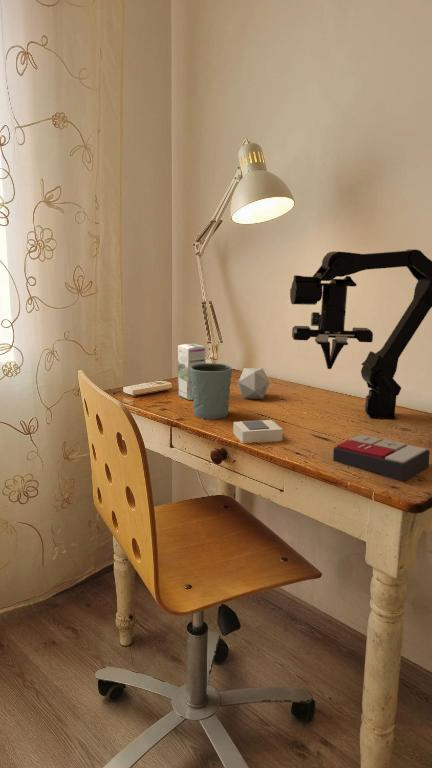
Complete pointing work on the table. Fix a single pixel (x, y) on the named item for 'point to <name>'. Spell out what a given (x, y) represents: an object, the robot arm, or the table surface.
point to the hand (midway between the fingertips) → (329, 368)
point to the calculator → (382, 457)
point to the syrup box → (188, 367)
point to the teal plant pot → (211, 389)
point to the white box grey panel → (257, 431)
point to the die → (253, 383)
